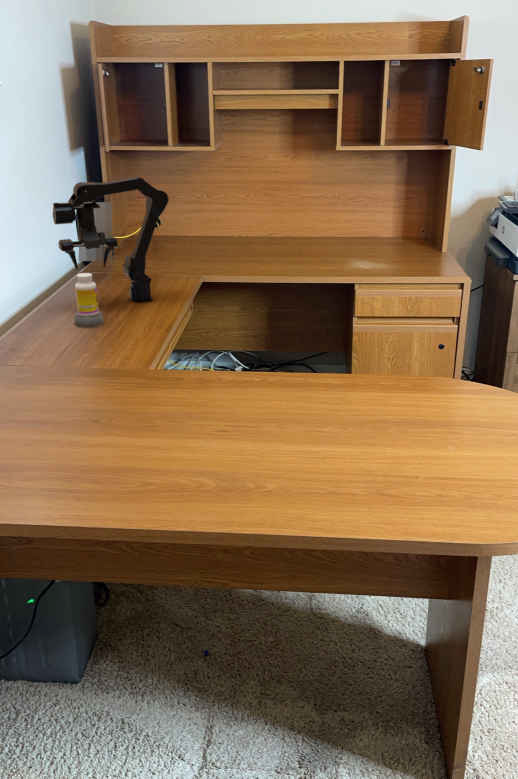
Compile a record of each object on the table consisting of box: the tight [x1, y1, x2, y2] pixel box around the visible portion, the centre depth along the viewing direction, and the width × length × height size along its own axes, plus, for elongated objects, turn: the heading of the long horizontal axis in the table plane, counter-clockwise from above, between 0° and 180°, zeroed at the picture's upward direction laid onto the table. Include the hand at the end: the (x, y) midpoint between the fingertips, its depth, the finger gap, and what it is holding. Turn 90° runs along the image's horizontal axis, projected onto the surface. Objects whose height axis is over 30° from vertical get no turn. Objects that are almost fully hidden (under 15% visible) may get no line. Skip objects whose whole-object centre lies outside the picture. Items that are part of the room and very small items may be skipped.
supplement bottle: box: [74, 272, 100, 317], centre depth 225 cm, size 7×7×13 cm
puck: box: [73, 310, 104, 328], centre depth 228 cm, size 9×9×3 cm
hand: (90, 268), depth 241 cm, fingers open, 9 cm apart
